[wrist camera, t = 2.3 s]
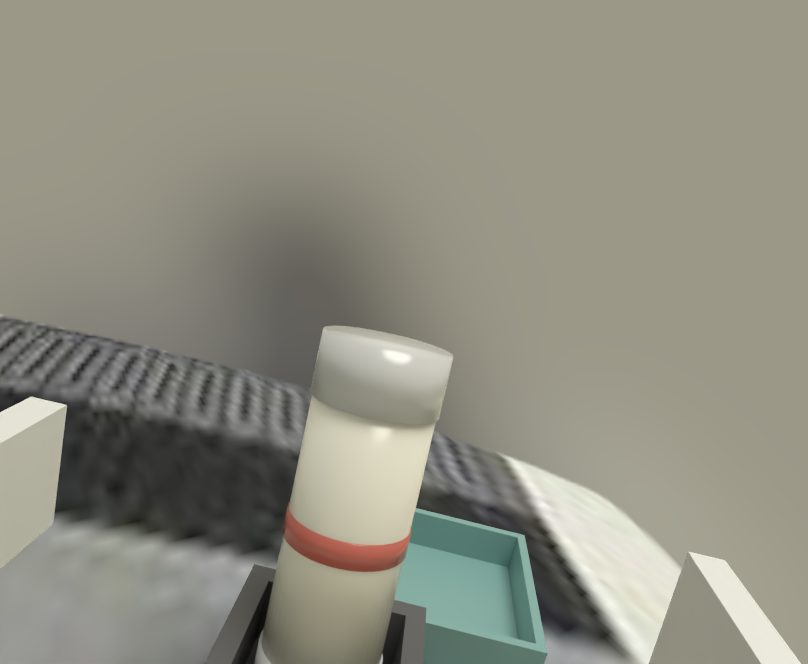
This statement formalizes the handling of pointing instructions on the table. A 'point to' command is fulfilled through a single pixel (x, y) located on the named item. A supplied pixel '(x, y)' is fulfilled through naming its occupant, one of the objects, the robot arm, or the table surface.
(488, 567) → the parts tray
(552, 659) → the table surface
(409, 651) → the socket block
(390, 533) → the fuse
